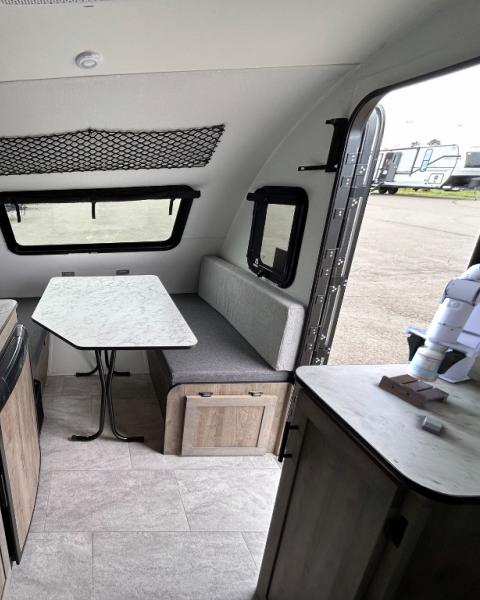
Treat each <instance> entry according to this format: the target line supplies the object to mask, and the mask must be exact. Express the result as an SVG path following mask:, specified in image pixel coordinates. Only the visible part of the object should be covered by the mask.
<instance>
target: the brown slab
mask: <svg viewBox="0 0 480 600" xmlns="http://www.w3.org/2000/svg"><path fill="white" fill-rule="evenodd" d="M378 387H379V388H381V390H382V389H383V390H384V391H386V392H387V393H389V394H392V395H394V396H396V397H397V398H399V399H401V400H403V401H405V402H406V403H409V404H410V405H412V406H414V407H416V408H418V409H420V408H421V409H422V408H423V407H424V405H425V404H426V403H427V402H431V401H435V400H436V401H439V402H441V403H443V402H446V401H447V399H448V398H449V396H450V393H448V392H446V391H444V390H442V389H440V388H438V387H434V385H431V384H429V383H428V382H424V381H421V380H418V379H416V378H414V377H412V376H410V375H409V374H408V373H405V374H402V375H401V374H400V375H396V376H391V377H389V376H387V375H382V376H381V378H380V381H379V383H378Z"/></svg>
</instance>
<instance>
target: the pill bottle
mask: <svg viewBox="0 0 480 600" xmlns="http://www.w3.org/2000/svg"><path fill="white" fill-rule="evenodd" d="M448 350H449V349H448V346H445V345H441V344H438V343H433V342H430V341H428V340H426V341H425V345H424V346H420V347H419V348H418V349H417V351H416V353H415V355H414V357H413V359H412V361H411V362H410V364H409V365H408V367H407V369H406V374H408V375H410V376H412V377H414V378H416V379H418V380H419V381H423V382H425V383H435V382H437V380H438V378H440V377H439V375H440V374H438V373H437V372H438V370H439V368H440V366H441V365H442V363H443V360H444V357H445V353H446V351H448Z"/></svg>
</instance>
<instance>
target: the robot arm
mask: <svg viewBox="0 0 480 600" xmlns="http://www.w3.org/2000/svg"><path fill="white" fill-rule="evenodd" d="M403 333H404V334H406V335H409V336H407V338H406V341H407V345H408V352H409V353H408V359H407V361H408V362H410V363H411V361H412V359H413V357H414V355H415V353H416V351H417V349H418V348H419V347H420V346H425V341H426V340H428V341H430V342H433V343H438V344H441V345H445V346H448V349H449V350H448V351H446V353H445V357H444V360H443V363H442V365H441V366H440V368H439V370H438V372H437V373H438V374H440V375H439V377H438V378H440V379H443V380H444V381H446V382H449V383H451V384H455V383H459V382H464V381H468V380H471V377H470V376H468V374H469V372H470V370H471V369H472V367H473V365H474V364H475V362H476V358H477V357H480V263H477V264H474V265H472V266H470V267H469V268H468V269H467V270H466V271H465V272H463V273H462V274H461V275H460V276H459V277H458V278H455V279H453V278H452V279H450V280H449V281H448V282H447V283H446V285H445V287H444V289H443V291H442V295H441V299H440V300H439V307H438V309H437V311H436V313H435V315H434V317H433V319H432V321H431V323H430V325H429V327H428V329H427V330H425V329H421V328H417V327H415V326H412V325H409V326H406V327H405V329H404V331H403Z"/></svg>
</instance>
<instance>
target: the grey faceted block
mask: <svg viewBox="0 0 480 600" xmlns="http://www.w3.org/2000/svg"><path fill="white" fill-rule="evenodd" d="M420 428H421V429H422V430H424V431H427V432H429V433H432V434H434V435H436V436H439V434H440V432H441V430H442V428H443V422H442V421H439V420H436V419H435V418H431V417H430V416H427V415H424V416H423V417H422V422H421V426H420Z"/></svg>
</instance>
